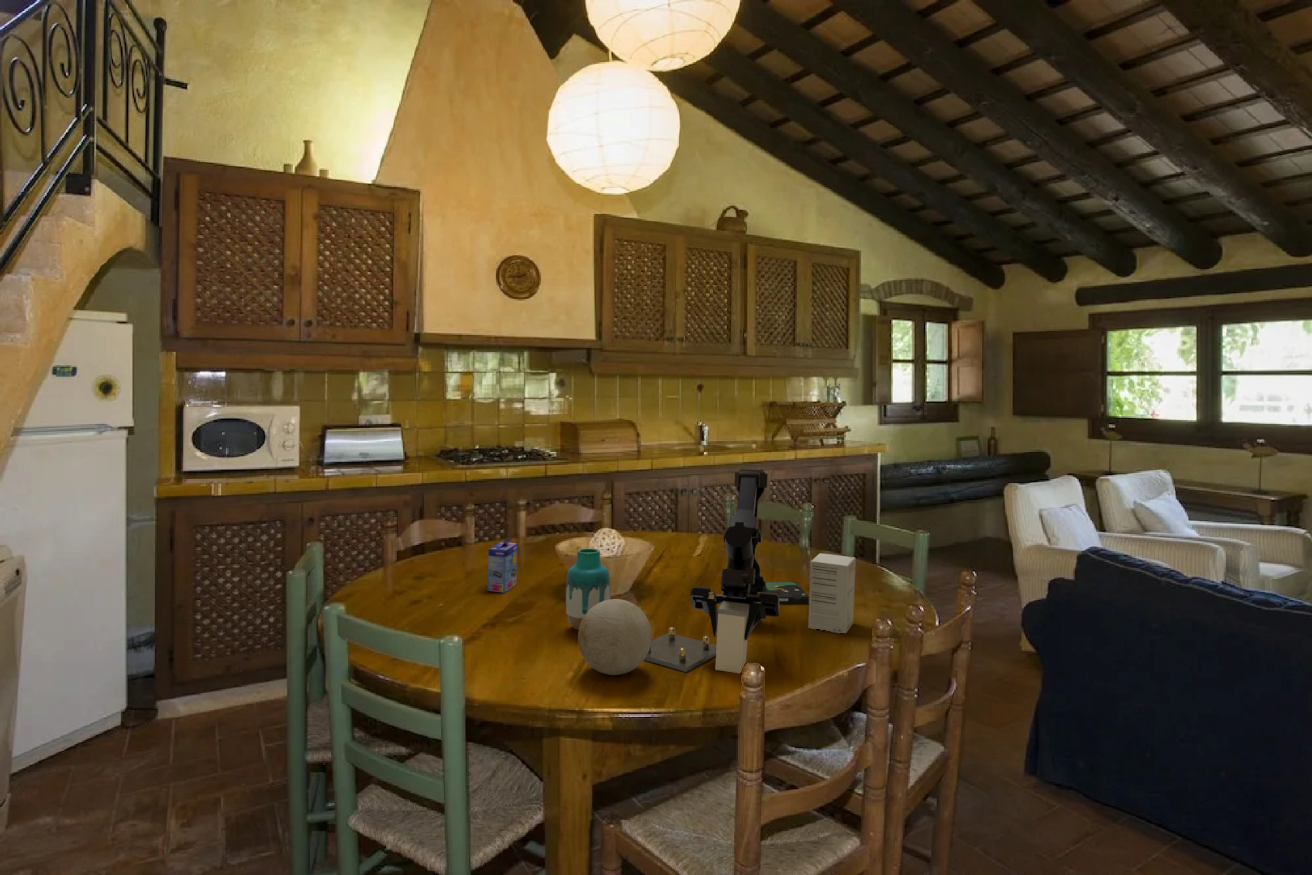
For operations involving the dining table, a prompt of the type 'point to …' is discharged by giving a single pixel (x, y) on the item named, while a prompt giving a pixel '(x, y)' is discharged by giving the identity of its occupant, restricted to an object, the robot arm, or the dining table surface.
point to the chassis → (680, 651)
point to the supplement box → (831, 593)
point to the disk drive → (788, 592)
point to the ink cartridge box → (502, 566)
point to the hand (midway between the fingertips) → (729, 637)
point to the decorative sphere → (614, 637)
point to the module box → (731, 636)
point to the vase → (586, 585)
